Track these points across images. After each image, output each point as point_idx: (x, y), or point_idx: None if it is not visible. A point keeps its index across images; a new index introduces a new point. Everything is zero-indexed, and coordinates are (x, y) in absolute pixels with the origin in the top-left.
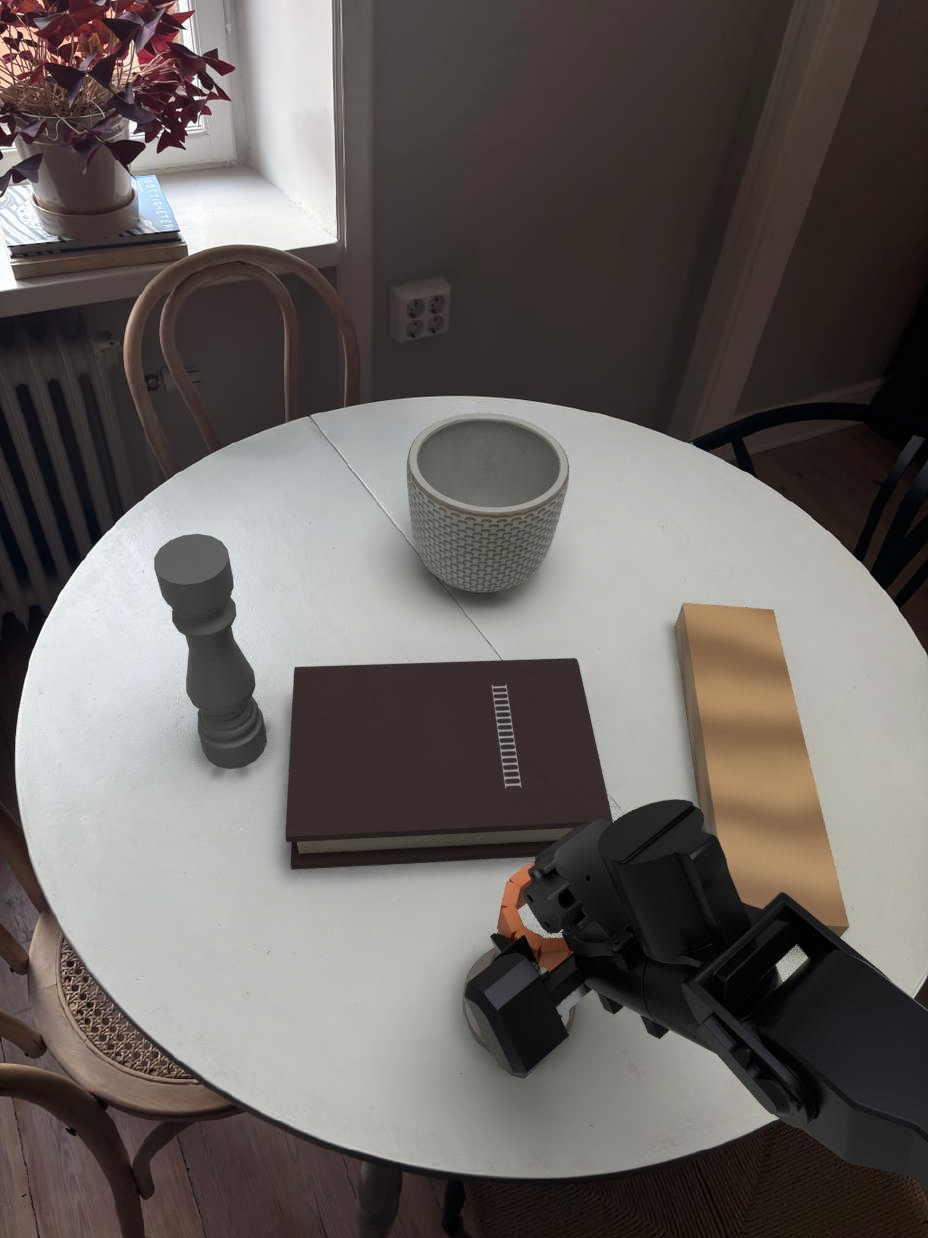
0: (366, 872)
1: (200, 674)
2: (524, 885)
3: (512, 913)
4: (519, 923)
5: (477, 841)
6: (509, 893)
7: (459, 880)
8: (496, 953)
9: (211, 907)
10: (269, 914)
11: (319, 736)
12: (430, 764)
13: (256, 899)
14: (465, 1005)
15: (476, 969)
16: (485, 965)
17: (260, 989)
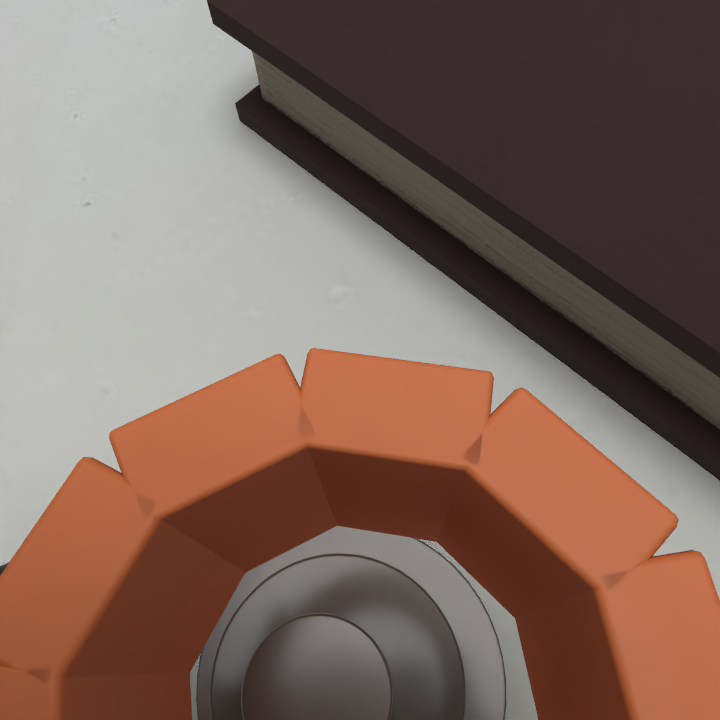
0: (339, 213)
1: None
2: (350, 457)
3: (99, 536)
4: (53, 633)
5: (575, 313)
6: (213, 418)
7: (478, 357)
8: (317, 561)
9: (91, 86)
10: (145, 156)
11: None
12: (608, 68)
13: (153, 122)
14: (241, 579)
15: (329, 537)
16: (354, 547)
17: (21, 244)
